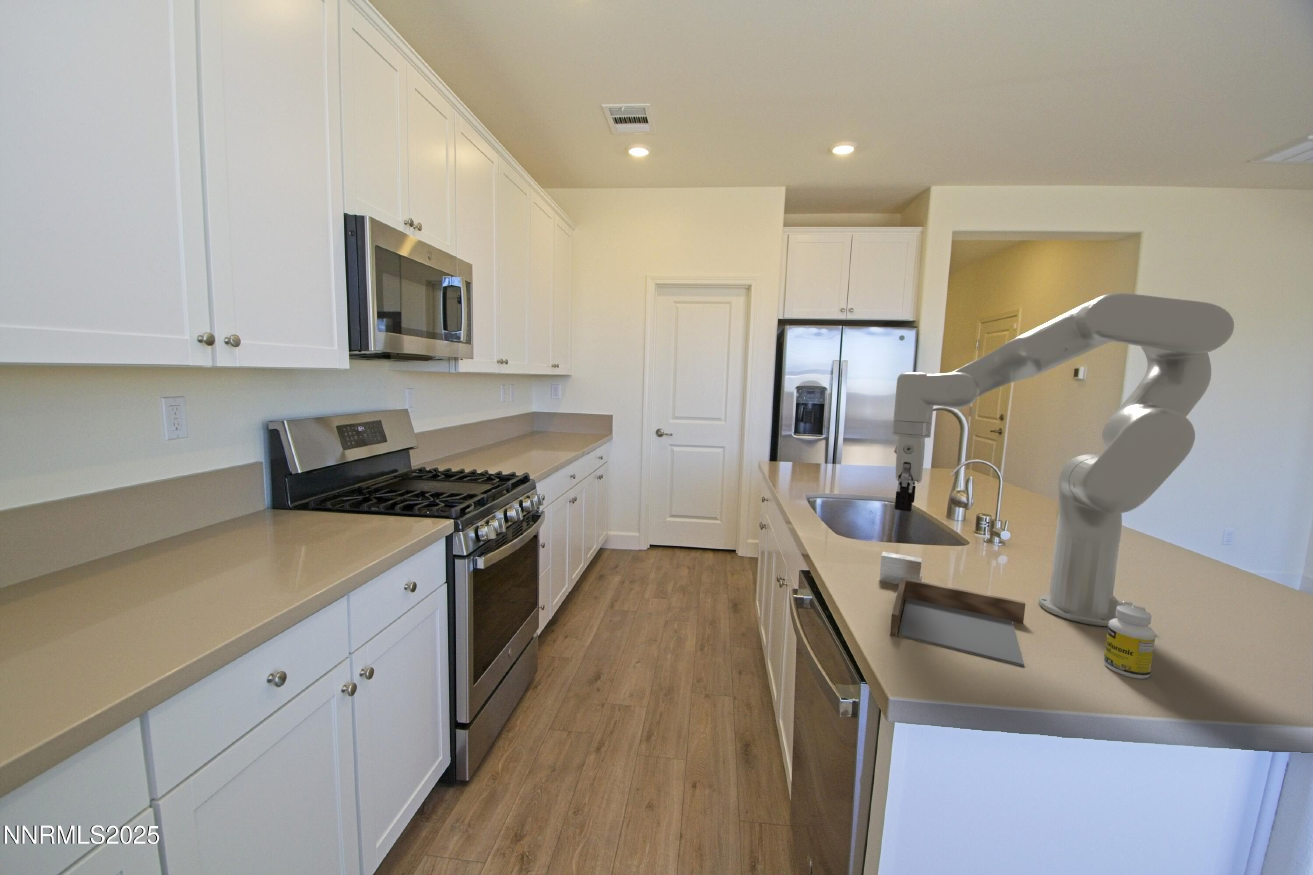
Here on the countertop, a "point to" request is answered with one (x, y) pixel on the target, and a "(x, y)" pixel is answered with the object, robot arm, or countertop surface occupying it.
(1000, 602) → the walnut corner walls
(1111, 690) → the countertop surface
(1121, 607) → the supplement bottle
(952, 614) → the slate mat
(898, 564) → the aluminium bracket
